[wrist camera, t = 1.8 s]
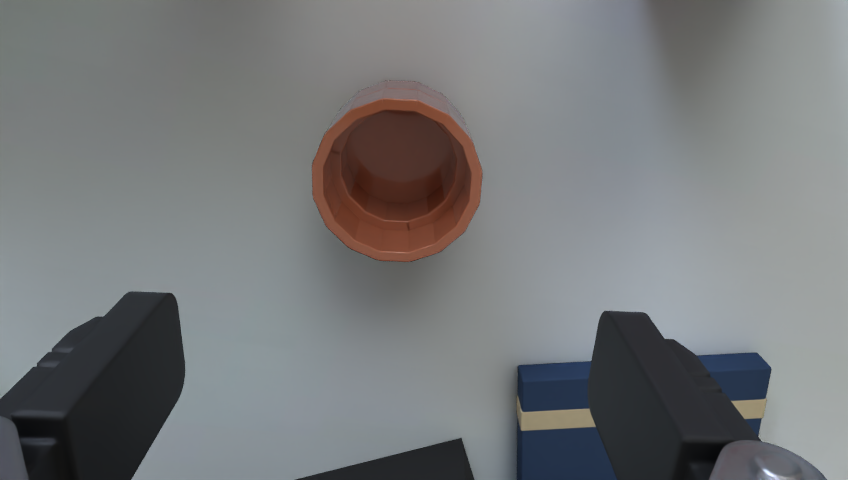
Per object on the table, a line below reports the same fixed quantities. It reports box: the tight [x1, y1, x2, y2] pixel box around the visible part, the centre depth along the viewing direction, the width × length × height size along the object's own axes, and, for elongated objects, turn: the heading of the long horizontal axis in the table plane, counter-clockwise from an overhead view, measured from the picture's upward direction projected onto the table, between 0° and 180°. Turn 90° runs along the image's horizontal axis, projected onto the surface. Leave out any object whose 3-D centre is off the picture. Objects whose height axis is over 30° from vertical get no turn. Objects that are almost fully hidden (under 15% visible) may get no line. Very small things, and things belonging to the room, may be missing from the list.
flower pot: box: [312, 80, 483, 262], centre depth 24 cm, size 6×6×5 cm
